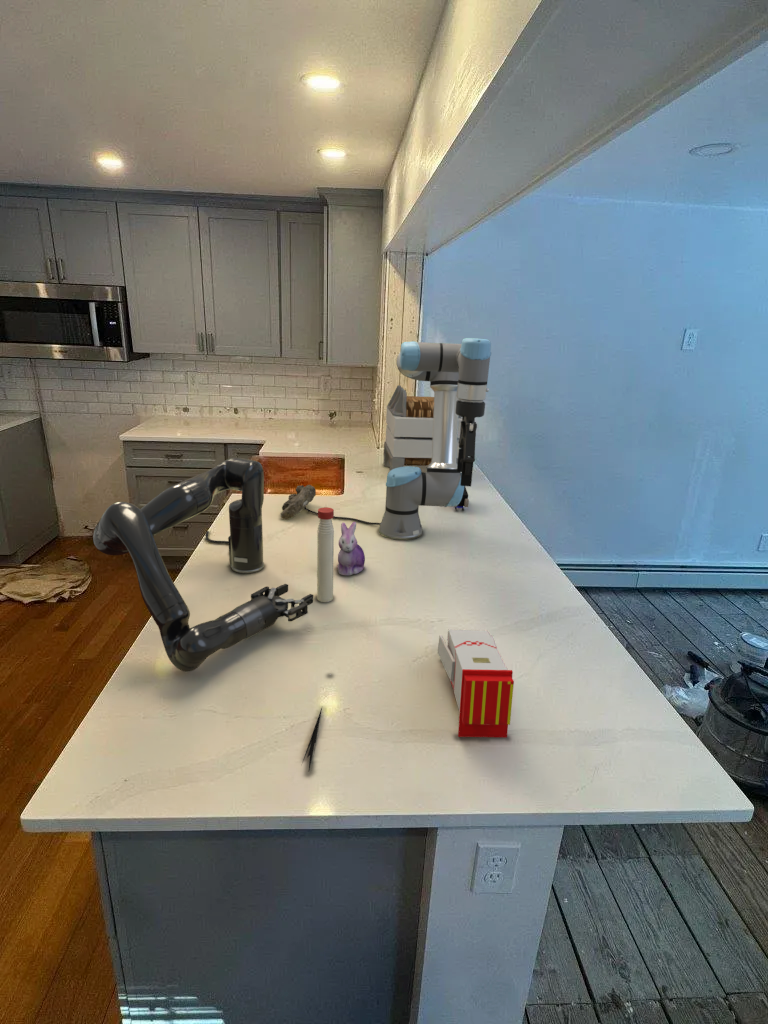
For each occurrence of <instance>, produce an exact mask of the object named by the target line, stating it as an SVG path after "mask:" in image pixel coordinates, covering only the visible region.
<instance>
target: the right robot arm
mask: <svg viewBox="0 0 768 1024" xmlns="http://www.w3.org/2000/svg"><path fill="white" fill-rule="evenodd" d="M491 350H492V342H491V341H490V340H489V339H487V338H479V337H478V338H477V337H475V338H474V337H466V338H463V339H462V340H461V343H451V342H449V343H447V342H425V341H423V342H422V341H413V340H411V341H404V342H401V345H400V350H399V353H398V354H397V357H396V367H397V370H398V371H399V372H400V374H401V375H403V376H404V377H406V378H409V379H411V380H415V381H420V382H430V383H429V387H430V389H431V390H432V391H433V397H434V414H433V438H432V461H431V463H430V464H429V465H428V466H426V471H422V469H421V468H420V467H419V466H407V465H404V467H398V468H395V469H392V470H391V471H390V470H388V473H387V475H386V482H385V487H386V488H385V489H386V490H385V504H384V505H385V507H384V508H385V509H384V513H383V515H382V519H381V522H370V521H365V520H362V519H358V518H354V517H346V516H336V515H334V517H333V518H332V519H335V520H336V519H337V520H347V521H353V522H358V523H362V524H366V525H371V526H379V527H378V533H379V534H380V535H381V536H382V537H385V538H387V539H389V540H395V541H410V540H415V539H418V538H420V537H421V536H422V535H423V525H422V524H421V518H420V515H419V507H444V508H447V507H453V506H457V505H458V504H459V503H460V501H461V499H462V496H463V492H464V486H465V487H472V482H473V479H472V478H473V469H474V463H475V461H476V437H477V428H478V423H477V421H476V418H482V417H484V416H485V410H486V402H485V400H487V399H486V397H487V393H488V392H490V388H489V387H488V381H489V371H490V370H489V369H490V363H491V362H490V361H491V356H492V351H491ZM458 415H459V416H462V417H461V418H462V421H461V429H460V438H459V448H461V449H459V453H458V464H457V463H456V458H457V437H458ZM460 472H461V473H460ZM307 509H308V510H309V512H308V513H311V514H313V515H317V516H318V511H314V510H311V509H310V508H307ZM303 510H305V511H307V510H306V509H305V508H304V509H303Z"/></svg>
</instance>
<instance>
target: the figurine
mask: <svg viewBox="0 0 768 1024" xmlns="http://www.w3.org/2000/svg"><path fill="white" fill-rule="evenodd" d="M356 528H357V521H353V522H352V523H351V524H350V525H349V527H348V526H347V524H346V523H345V522H344V521H343V522H341V524H340V531H341V532H340V533H341V534H340V537H339V539H338V546H339V549H340V550H339V551H338V553H337V562H338V565H337V570H338V574H339V575H342V576H352V575H357V574H359V573H361V572H362V571H364V568H365V563H366V557H365V556H366V555H365V551H364V550H363V547H362V546H361V545H360V544H359V543H358V540H357V538H356V534H355V532H356Z"/></svg>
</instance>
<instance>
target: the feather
mask: <svg viewBox="0 0 768 1024" xmlns="http://www.w3.org/2000/svg"><path fill="white" fill-rule="evenodd" d="M329 675H330V676H331V675H332V674H331V673H330V674H329ZM322 710H323V707H321V708H320V710H319V713H318V716H317V719H316V723H315V725H314V728H313V731H312V733H311V737H310V739H309V742H308V745H307V748H306V751H305V754H304V757H303V760H302V763H301V767H302V765H303V763H304V761H305V758H308V759H309V760H308V762H307V763H308V764H307V766H308V771H310V770H311V766H312V765H311V764H312V760H313V757H315V756H314V755H315V751H316V749H315V746H317V739H318V733H319V729H320V722H321V717H322V712H323V711H322ZM313 754H314V755H313ZM306 755H307V757H306Z"/></svg>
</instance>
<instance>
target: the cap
mask: <svg viewBox="0 0 768 1024" xmlns="http://www.w3.org/2000/svg"><path fill="white" fill-rule="evenodd" d="M317 513H318V515H317V518H318V519H319V520H320V519H324V520H328V519H331V520H332V519H334V518H333V517H334V516H335V510H334V508H332V507H325V506H324V507H319V508H318V509H317Z"/></svg>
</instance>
